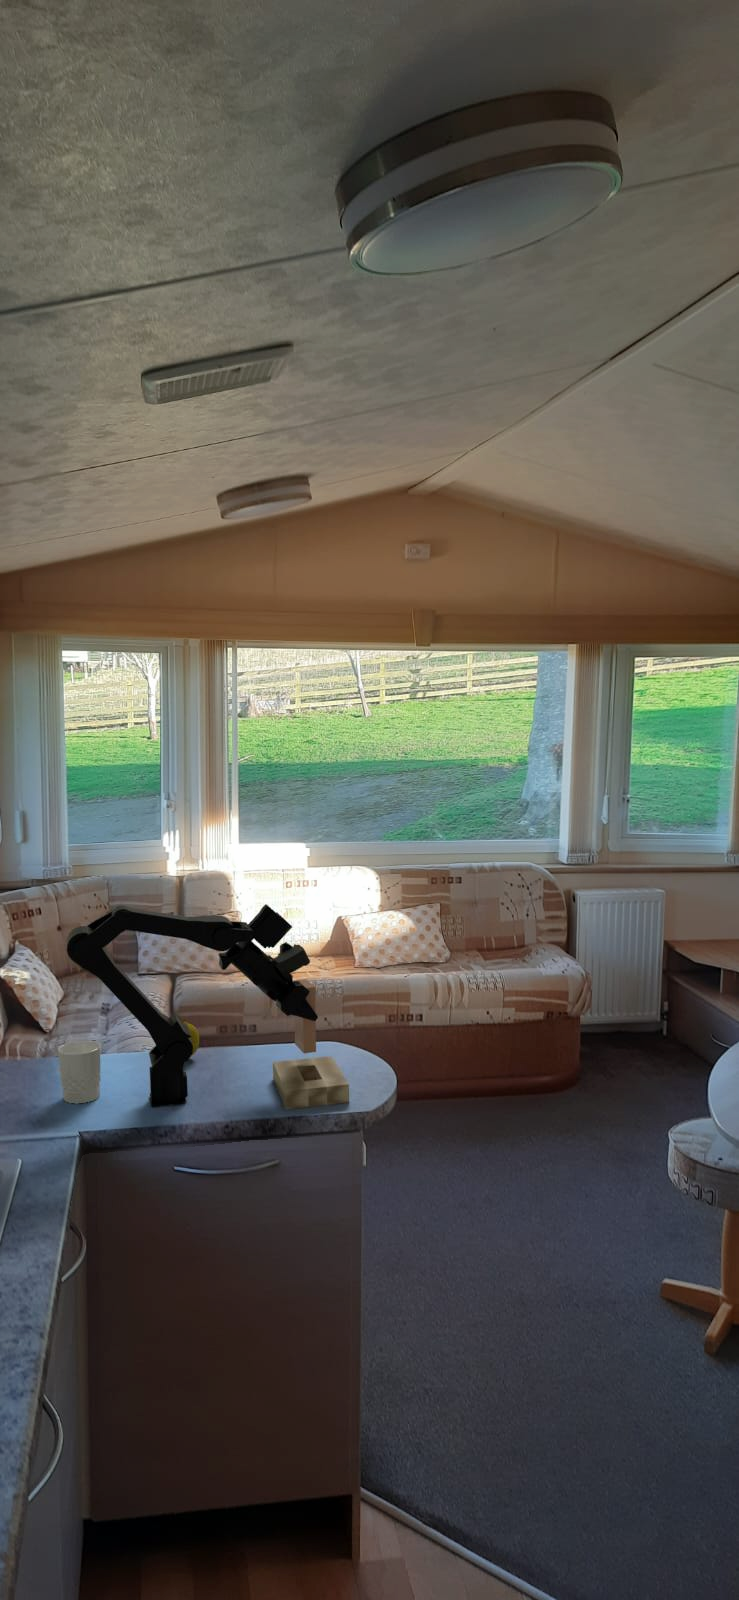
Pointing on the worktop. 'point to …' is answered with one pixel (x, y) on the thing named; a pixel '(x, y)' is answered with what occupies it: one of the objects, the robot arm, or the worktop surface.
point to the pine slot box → (310, 1082)
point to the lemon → (193, 1036)
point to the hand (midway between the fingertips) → (311, 1014)
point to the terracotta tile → (306, 1024)
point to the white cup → (80, 1071)
